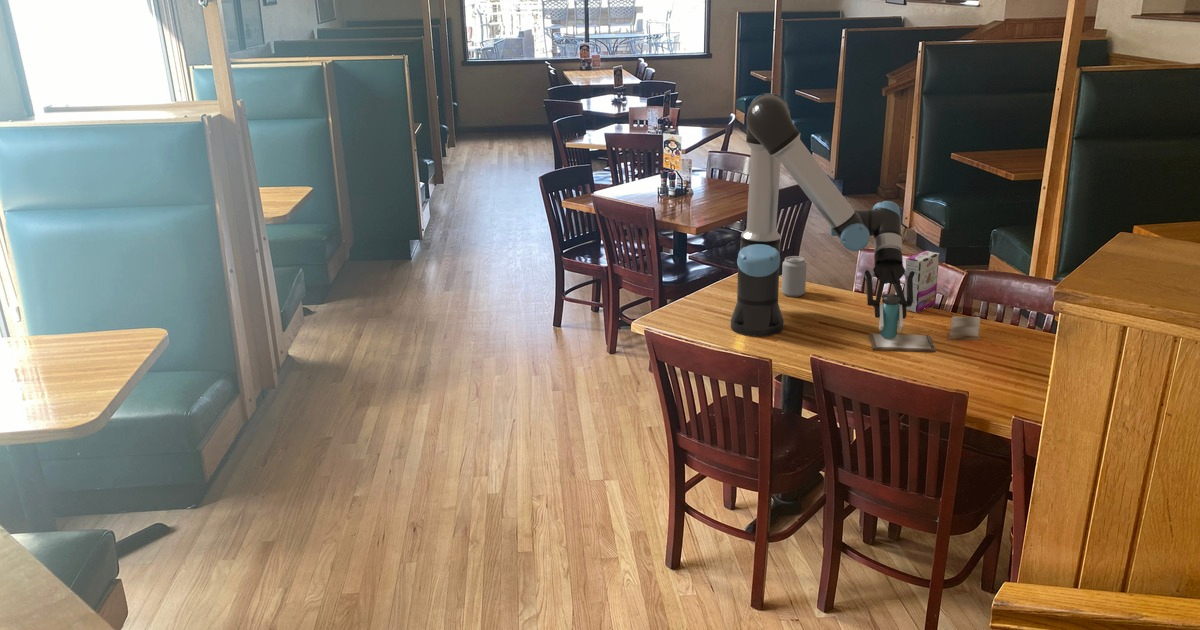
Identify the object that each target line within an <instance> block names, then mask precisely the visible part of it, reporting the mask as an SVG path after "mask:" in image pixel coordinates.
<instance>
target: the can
mask: <svg viewBox="0 0 1200 630" xmlns="http://www.w3.org/2000/svg"><path fill="white" fill-rule="evenodd" d="M805 260H806V258H805V257H804V256H803V257H802V256H798V255H792V256H791V255H790V256H786V257H785V258H784V261H782V266H781V267H782V268H781V271H782V272H781V293H782V294H783V295H785V296H787V297H792V298H795V297H796V298H798V297H802V296H803V295H804V294H805V293H806V283H807V265H808V263H807V262H806V261H805Z"/></svg>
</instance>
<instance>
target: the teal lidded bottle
mask: <svg viewBox="0 0 1200 630" xmlns="http://www.w3.org/2000/svg"><path fill="white" fill-rule="evenodd" d="M881 300H882V303H881V304H883V323H884V326H883V329H882V330H879V332H880V333H879V334H880V335H882V336H884V337H896V336H897V334H898V329H899V326H898V316H899V305H900V296H899V295H897V294H894V293H885V294H882V297H881Z"/></svg>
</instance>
